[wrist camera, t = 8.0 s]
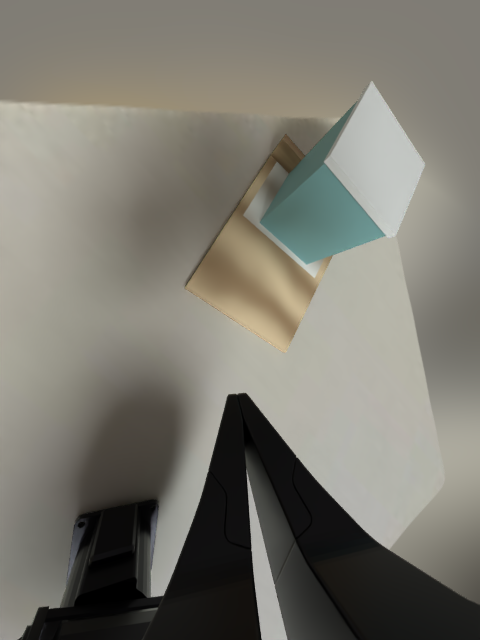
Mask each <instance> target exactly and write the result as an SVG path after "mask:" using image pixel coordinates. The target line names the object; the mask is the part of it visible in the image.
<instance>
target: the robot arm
mask: <svg viewBox="0 0 480 640" xmlns="http://www.w3.org/2000/svg"><path fill="white" fill-rule="evenodd" d="M246 468H247V473H248V477H249V481H250V485H251V489H252V493H253V497H254V502H255V506H256V510H257V514H258V518H259V522H260V527H261V531H262V535H263V539H264V543H265V547H266V552H267V556H268V560H269V564H270V568H271V572H272V576H273V581H274V584H275V589H276V593H277V598H278V602H279V606H280V610H281V614H282V618H283V622H284V627H285V631H286V635H287V639H288V640H480V604H478V603H476V602H473V601H471V600H469V599H467V598H465V597H463V596H462V595H460V594H458V593H456V592H455V591H453V590H452V589H450V588H448V587H447V586H445V585H444V584H442V583H441V582H439V581H437V580H436V579H434V578H433V577H431V576H429V575H428V574H426V573H425V572H423V571H421V570H420V569H418V568H417V567H415V566H414V565H412V564H410V563H409V562H407V561H406V560H404V559H403V558H401V557H399V556H398V555H396V554H395V553H393V552H391V551H390V550H388V549H387V548H385V547H384V546H382V545H381V544H380V543H378V542H377V541H376V540H374V539H373V538H372V537H371V536H370V535H369V534H367V533H366V532H365V531H364V530H363V529H362V528H361V527H360V526H359V525H358V524H357V523H356V522H355V521H354V520H353V518H352V517H351V516H350V515H349V514H348V513H347V512H346V511H345V510H344V509H343V508H342V507H341V506H340V505H339V504H338V503H337V502H336V501H335V500H334V499H333V498H332V497H331V496H330V494H329V493H328V492H327V491H326V490H325V489H324V488H323V487H322V486H321V485H320V484H319V483H318V482H317V480H316V479H315V478H314V477H313V476H312V475H311V473H310V472H309V471H308V470H307V469H306V467H305V466H304V465H303V464H302V462H301V461H300V460H299V459H298V458H296V455H295V454H294V452H293V451H292V450H291V449H290V447H289V446H288V445H287V444H286V442H285V441H284V440H283V439H282V437H281V436H280V435H279V434H278V432H277V431H276V430H275V429H274V427H273V426H272V425H271V424H270V422H269V421H268V420H267V418H266V417H265V416H264V415H263V413H262V412H261V411H260V410H259V408H258V407H257V406H256V405H255V403H254V402H253V401H252V400H251V398H250V397H249V396H248V395H247V394H246V393H239V394H229V395H228V396H227V400H226V404H225V408H224V412H223V416H222V420H221V423H220V427H219V431H218V435H217V439H216V443H215V447H214V451H213V455H212V458H211V462H210V466H209V472H208V474H207V477H206V481H205V485H204V488H203V492H202V495H201V499H200V502H199V505H198V508H197V511H196V513H195V516H194V519H193V522H192V524H191V527H190V530H189V532H188V535H187V538H186V540H185V543H184V546H183V548H182V551H181V554H180V556H179V559H178V562H177V564H176V567H175V570H174V572H173V575H172V577H171V580H170V582H169V584H168V587H167V589H166V591H165V594H164V596H158V597H151V569H152V560H153V552H154V543H155V534H156V525H157V517H158V508H159V506H158V501H157V500H149V501H144V502H139V503H134V504H130V505H125V506H120V507H115V508H110V509H106V510H101V511H97V512H92V513H87V514H83V515H81V516H79V517H78V518H77V519H76V522H75V525H74V530H73V538H72V545H71V553H70V560H69V568H68V575H67V583H66V589H65V592H64V596H63V599H62V602H61V605H60V608H53V609H49V606H48V607H39V608H38V610H37V613H36V615H35V617H34V620H33V622H32V625H30V626H27V628H26V630H25V632H24V634H23V636H22V637H21V638H20V639H18V640H262V639H261V632H260V624H259V616H258V608H257V600H256V592H255V584H254V574H253V563H252V551H251V533H250V518H249V503H248V488H247V473H246ZM151 506H155V507H153V508H151ZM81 521H84V522H85V523H83V524H80V522H81Z"/></svg>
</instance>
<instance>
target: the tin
mask: <svg viewBox="0 0 480 640" xmlns="http://www.w3.org/2000/svg"><path fill="white" fill-rule="evenodd" d="M424 166H425V163H424V162H423V160H422V159H421V157H420V155H419V154H418V153H417V151H416V149H415V148H414V146H413V144H412V143H411V141H410V140H409V138H408V137H407V135H406V133H405V132H404V131H403V129H402V127H401V126H400V124H399V123H398V121H397V120H396V118H395V116H394V115H393V113H392V112H391V110H390V108H389V107H388V105H387V104H386V102H385V101H384V99H383V97H382V96H381V94H380V93H379V91H378V90H377V88H376V86H375V85H374V83H373V82H372V81H371V83H369V84H368V86H367V87H366V88H365V89H364V91H363V92H362V94H361V96H360V98H359V99H358V101H357V102H356V103H355V104H354V105H353V106H352V107H351V108H350V109H349V110H348V111H347V112H346V113H345V115H344V116H343V117H342V118H341V119H340V120H339V121H338V122H337V123H336V124H335V125H334V126H333V127H332V128H331V129H330V130H329V132H328V133H327V134H326V135H325V136H324V137H323V138H322V139H321V140H320V141H319V142H318V143H317V144H316V145H315V146H314V148H313V149H312V150H311V151H310V152H309V153H308V154H307V155H306V156H305V157H304V158H303V159H302V160H301V161H300V162H299V164H298V165H297V166H296V167H295V168H294V169H293V170H292V171H291V172H290V173H289V174H288V176H287V178H286V179H285V181H284V183H283V184H282V186H281V188H280V189H279V191H278V193H277V194H276V196H275V198H274V199H273V201H272V203H271V204H270V206H269V208H268V209H267V211H266V213H265V214H264V216H263V217H262V219H261V221H260V222H259V223H260V224H261V225H263V226H264V227H265V228H266V229H267V230H268V231H269V232H270V233H272V234H273V235H274V236H275V237H276V238H277V239H278V240H279V241H280V242H282V243H283V244H284V245H285V246H286V247H287V248H288V249H289V250H291V251H292V252H293V253H294V254H295V255H296V256H297V257H298V258H299V259H301V260H302V261H303V262H304V263H305V264H306V265H307V264H310V263H312V262H315V261H318V260H321V259H323V258H326V257H329V256H332V255H334V254H337V253H340V252H342V251H345V250H348V249H351V248H353V247H356V246H359V245H362V244H364V243H367V242H370V241H373V240H375V239H378V238H381V237H383V236H387V237H388V238H391V237H393V236H396V234H397V232H398V229H399V227H400V224H401V222H402V219H403V217H404V215H405V212H406V210H407V207H408V205H409V203H410V200H411V198H412V195H413V193H414V190H415V188H416V186H417V182H418V181H419V178H420V176H421V173H422V171H423V168H424Z"/></svg>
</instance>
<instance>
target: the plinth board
mask: <svg viewBox="0 0 480 640" xmlns="http://www.w3.org/2000/svg"><path fill="white" fill-rule="evenodd" d="M304 157H305V155H304V154H303V153H302V152H301V151H300V150H299V149H298V147H297V146H296V145H295V144H294V143H293V142H292V140H291V139H290V138H289V137H288V136H287V135H286V134H285V136H284V137H283V139H282V140H281V141H280V143H279V144H278V145H277V147H276V148H275V150H274V151H273V152H272V154H271V155H270V157H269V158H268V160H267V161H266V163H265V164H264V166H263V168H262V169H261V171H260V172H259V174H258V175H257V177H256V178H255V180H254V182H253V183H252V185H251V186H250V188H249V189H248V191H247V192H246V194H245V195H244V197H243V199H242V200H241V202H240V203H239V205H238V206H237V208H236V209H235V211H234V212H233V214H232V216H231V217H230V219H229V220H228V222H227V223H226V225H225V226H224V228H223V229H222V231H221V233H220V234H219V236H218V237H217V239H216V240H215V242H214V243H213V245H212V246H211V248H210V250H209V251H208V253H207V254H206V256H205V257H204V259H203V260H202V262H201V263H200V265H199V267H198V268H197V270H196V271H195V273H194V274H193V276H192V277H191V279H190V280H189V282H188V284H187V285H186V287H185V289H187V290H188V291H190V292H191V293H193V294H194V295H196V296H197V297H199V298H201V299H202V300H204V301H205V302H207V303H208V304H210V305H211V306H213V307H214V308H216V309H217V310H219V311H220V312H222V313H223V314H225V315H227V316H228V317H230V318H231V319H233V320H234V321H236V322H237V323H239V324H240V325H242V326H243V327H245V328H246V329H248V330H250V331H251V332H253V333H254V334H256V335H257V336H259V337H260V338H262V339H263V340H265V341H266V342H268V343H269V344H271V345H272V346H274V347H276V348H277V349H279V350H280V351H282V352H284V353H286V351H287V349H288V347H289V345H290V343H291V341H292V339H293V337H294V335H295V332H296V330H297V328H298V326H299V324H300V322H301V320H302V318H303V316H304V314H305V312H306V310H307V308H308V306H309V303H310V301H311V299H312V297H313V295H314V293H315V291H316V289H317V287H318V285H319V283H320V281H321V279H322V277H323V274H324V272H325V270H326V268H327V266H328V264H329V262H330V260H331V258H332V256H333V255H332V256H329V257H326V258H323V259H321V260H318V261H315V262H312V263H310V264H307V265H306V264H305V263H304V262H303V261H302V260H301V259H299V258H298V257H297V256H296V255H295V254H294V253H293V252H292V251H291V250H289V249H288V248H287V247H286V246H285V245H284V244H283V243H282V242H280V241H279V240H278V239H277V238H276V237H275V236H274V235H273V234H272V233H270V232H269V231H268V230H267V229H266V228H265V227H264V226H263V225H261V224H260V223H259V222H260V221H261V219H262V217H263V216H264V214H265V213H266V211H267V209H268V208H269V206H270V204H271V203H272V201H273V199H274V198H275V196H276V194H277V193H278V191H279V189H280V188H281V186H282V184H283V183H284V181H285V179H286V178H287V176H288V174H289V173H290V172H291V171H292V170H293V169H294V168H295V167H296V166H297V165H298V164H299V162H300V161H301V160H302V159H303V158H304Z"/></svg>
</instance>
